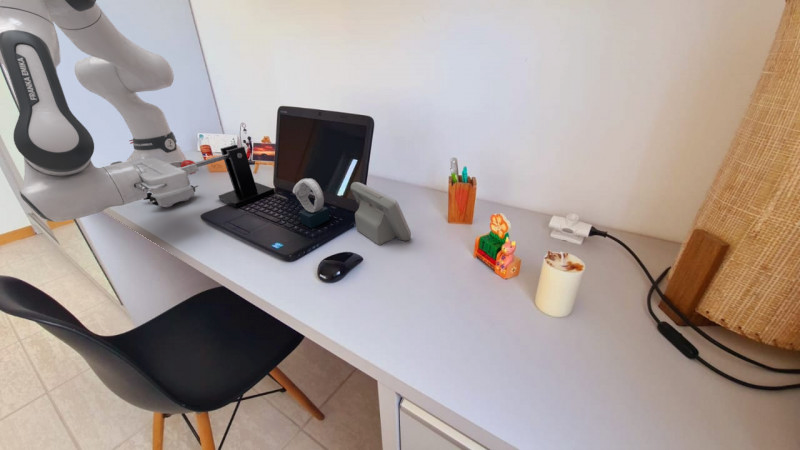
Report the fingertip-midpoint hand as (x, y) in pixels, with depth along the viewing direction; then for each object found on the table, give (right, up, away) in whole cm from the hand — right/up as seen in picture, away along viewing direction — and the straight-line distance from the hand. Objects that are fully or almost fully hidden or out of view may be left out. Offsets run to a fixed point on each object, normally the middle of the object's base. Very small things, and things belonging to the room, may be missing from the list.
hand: (192, 164), depth 83 cm
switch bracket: (+8, -7, +14) cm, 17 cm away
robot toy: (-15, -8, +14) cm, 22 cm away
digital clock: (+49, -17, -8) cm, 52 cm away
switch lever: (+3, 0, +4) cm, 5 cm away
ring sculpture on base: (+32, -15, -2) cm, 35 cm away
